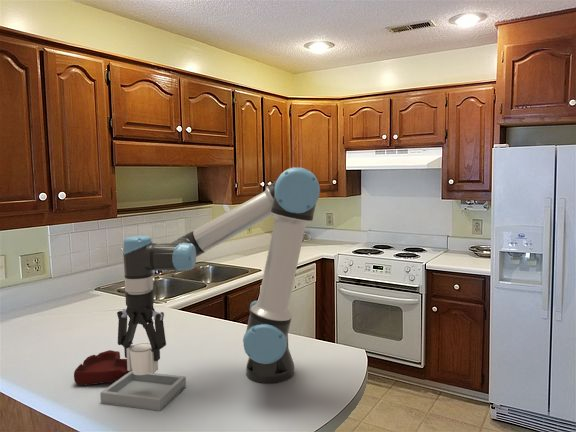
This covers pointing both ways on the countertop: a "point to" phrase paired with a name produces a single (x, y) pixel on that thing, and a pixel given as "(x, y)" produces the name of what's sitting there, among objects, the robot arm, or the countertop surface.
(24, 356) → the countertop surface
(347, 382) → the countertop surface
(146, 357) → the white cup
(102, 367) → the ashtray
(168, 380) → the tray
